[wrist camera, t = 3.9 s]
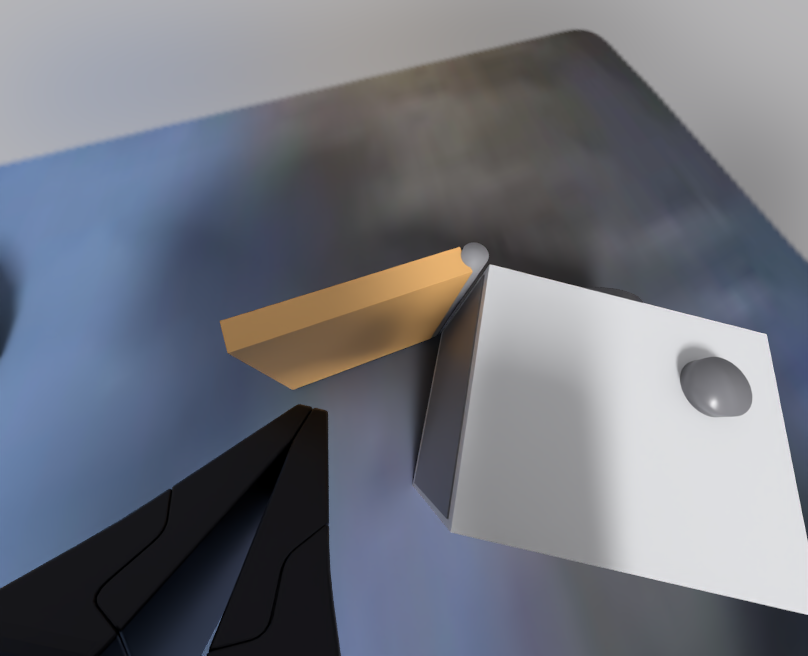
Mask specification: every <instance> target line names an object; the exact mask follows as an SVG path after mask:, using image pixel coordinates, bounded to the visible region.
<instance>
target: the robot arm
mask: <svg viewBox="0 0 808 656" xmlns="http://www.w3.org/2000/svg"><path fill="white" fill-rule="evenodd" d="M328 525H329V475H328V412H327V411H326V410H322V409H318V408H314V409H313V408H312V407H310V406H305V405H301V404H298V405H296V406H294V407H293V408H291V409H290V410H288V411H287V412H285V413H284V414H282V415H281V416H279V417H278V418H276V419H275V420H273V421H272V422H270V423H269V424H267V425H266V426H264V427H262V428H261V429H259V430H258V431H256V432H255V433H253V434H252V435H250V436H249V437H247V438H246V439H244V440H243V441H241V442H240V443H238V444H237V445H235V446H234V447H232V448H231V449H229V450H228V451H226V452H224V453H223V454H221V455H220V456H218V457H217V458H215V459H214V460H212V461H211V462H209V463H208V464H206V465H205V466H203V467H202V468H200V469H199V470H197V471H196V472H194V473H193V474H191V475H190V476H188V477H186V478H185V479H183V480H182V481H180V482H179V483H177V484H176V485H174V486H173V487H172V490H171V489H168V490H166V491H165V492H163V493H162V494H160V495H159V496H157V497H156V498H154V499H153V500H151V501H150V502H148V503H147V504H145V505H143V506H142V507H140V508H139V509H137V510H135V511H134V512H132V513H131V514H129V515H128V516H126V517H124V518H123V519H121V520H120V521H118V522H116V523H114V524H113V525H111V526H109V527H108V528H106V529H104V530H102V531H101V532H99V533H97V534H96V535H94V536H92V537H91V538H89V539H87V540H85V541H84V542H82V543H80V544H78V545H77V546H75V547H73V548H71V549H70V550H68V551H66V552H64V553H62V554H61V555H59V556H57V557H55V558H54V559H52V560H50V561H48V562H46V563H45V564H43V565H41V566H39V567H38V568H36V569H34V570H32V571H30V572H29V573H27V574H25V575H23V576H22V577H20V578H18V579H16V580H15V581H13V582H11V583H9V584H7V585H6V586H4V587H2V588H0V656H201V654H202V652H203V650H204V648H205V647H206V645H207V643H208V641H209V639H210V637H211V635H212V633H213V631H214V629H215V627H216V626H217V624H218V622H219V620H220V618H221V616H222V614H223V616H222V618H221V621H220V623H219V626H218V628H217V631H216V633H215V636H214V638H213V641H212V643H211V646H210V648H209V653H208V654H207V656H341V653H340V646H339V638H338V631H337V623H336V616H335V609H334V601H333V592H332V582H331V573H330V552H329V526H328ZM224 610H225V611H224ZM223 612H224V613H223Z"/></svg>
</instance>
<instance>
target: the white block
mask: <svg viewBox="0 0 808 656" xmlns="http://www.w3.org/2000/svg"><path fill="white" fill-rule="evenodd" d="M413 487H414V488H415V489H416V490H417V492H418V493H419V494H420V495H421V496H422V498H423V499H424V500H425V501H426V503H427V504H428V505H429V506H430V507H431V509H432V510H433V511H434V512H435V514H436V515H437V516H438V517H439V519H440V520H441V521H442V522H443V523H444V525H445V526H446V527H447V528H448V530H449V531H450V532H452V533H456V534H460V535H465V536H469V537H473V538H478V539H482V540H486V541H491V542H495V543H499V544H504V545H508V546H512V547H517V548H521V549H525V550H529V551H534V552H538V553H542V554H547V555H551V556H555V557H560V558H564V559H568V560H573V561H577V562H581V563H586V564H590V565H594V566H599V567H603V568H607V569H612V570H616V571H620V572H625V573H629V574H633V575H638V576H642V577H646V578H651V579H655V580H659V581H664V582H668V583H672V584H677V585H681V586H685V587H690V588H694V589H698V590H703V591H707V592H711V593H716V594H720V595H724V596H728V597H733V598H737V599H741V600H746V601H750V602H754V603H759V604H763V605H767V606H772V607H776V608H780V609H785V610H789V611H793V612H798V613H802V614H806V615H808V540H807V535H806V530H805V525H804V520H803V515H802V510H801V505H800V500H799V495H798V490H797V485H796V480H795V475H794V470H793V465H792V460H791V455H790V450H789V445H788V440H787V435H786V430H785V424H784V419H783V414H782V409H781V404H780V399H779V394H778V389H777V384H776V379H775V374H774V369H773V364H772V359H771V354H770V349H769V344H768V339H767V334H763V333H759V332H755V331H751V330H747V329H744V328H740V327H736V326H732V325H728V324H724V323H720V322H716V321H712V320H708V319H704V318H700V317H696V316H692V315H688V314H684V313H680V312H676V311H672V310H668V309H665V308H661V307H657V306H653V305H649V304H645V303H643V301H642V300H641V299H640V298H639V297H638V296H636V295H634V294H632V293H630V292H627V291H623V290H619V289H613V288H603V287H590V288H582V287H578V286H574V285H570V284H566V283H562V282H558V281H554V280H550V279H546V278H542V277H538V276H534V275H530V274H526V273H522V272H518V271H514V270H511V269H507V268H503V267H499V266H495V265H491V264H489V266H488V267H487V269H486V270H485V272H484V273H483V274H482V276H481V277H480V279H479V280H478V282H477V283H476V284H475V286H474V287H473V289H472V290H471V292H470V293H469V294H468V296H467V297H466V299H465V300H464V301H463V303H462V304H461V306H460V307H459V309H458V310H457V311H456V313H455V314H454V316H453V317H452V319H451V320H450V321H449V323H448V324H447V326H446V327H445V328H444V330H443V331H442V333H441V339H440V344H439V349H438V354H437V360H436V365H435V370H434V375H433V380H432V386H431V391H430V396H429V401H428V407H427V412H426V417H425V422H424V428H423V433H422V438H421V443H420V449H419V454H418V459H417V464H416V470H415V475H414V480H413Z"/></svg>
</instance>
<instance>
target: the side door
mask: <svg viewBox="0 0 808 656" xmlns="http://www.w3.org/2000/svg"><path fill="white" fill-rule="evenodd" d="M488 258H489V254H488V251H487V249H486V248H485V247H484V246H483V245H481V244H479V243H475V242H472V243H468V244H466V245H465V246H464V248H463V250H461V248H460V247H457V248H454V249H451V250H448V251H445V252H441V253H438V254H435V255H432V256H428V257H425V258H422V259H419V260H415V261H412V262H409V263H406V264H402V265H399V266H396V267H393V268H390V269H386V270H383V271H380V272H377V273H373V274H370V275H367V276H364V277H360V278H357V279H354V280H351V281H348V282H344V283H341V284H338V285H335V286H331V287H328V288H325V289H322V290H318V291H315V292H312V293H309V294H306V295H302V296H299V297H296V298H293V299H289V300H286V301H283V302H280V303H276V304H273V305H270V306H267V307H263V308H260V309H257V310H254V311H251V312H247V313H244V314H241V315H238V316H234V317H231V318H228V319H225V320H221V321H220V325H221V329H222V333H223V337H224V341H225V345H226V349H227V353H228V354H230V355H232V356H233V357H235V358H237V359H239V360H241V361H242V362H244V363H246V364H248V365H249V366H251V367H253V368H255V369H256V370H258V371H260V372H262V373H264V374H265V375H267V376H269V377H271V378H272V379H274V380H276V381H278V382H280V383H281V384H283V385H285V386H287V387H288V388H290V389H292V390H294V389H297V388H299V387H302V386H305V385H307V384H310V383H313V382H316V381H318V380H321V379H324V378H326V377H329V376H332V375H334V374H337V373H340V372H342V371H345V370H348V369H350V368H353V367H356V366H358V365H361V364H364V363H366V362H369V361H372V360H374V359H377V358H380V357H383V356H385V355H388V354H391V353H393V352H396V351H399V350H401V349H404V348H407V347H409V346H412V345H415V344H417V343H420V342H423V341H425V340H428V339H431V337H435V336H437V335H438V333H439V332H440V330H441V329H442V327H443V326H444V324H445V323H446V321H447V320H448V318H449V317H450V316H451V314H452V313H453V311H454V310H455V308H456V307H457V305H458V304H459V302H460V301H461V299H462V298H463V296H464V295H465V293H466V292H467V290H468V289H469V287H470V286H471V284H472V283H473V282H474V280H475V279H476V277H477V276H478V274H479V273H480V271H481V270H482V268H483V267H484V265H485V264H486V262H487V261H488Z"/></svg>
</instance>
